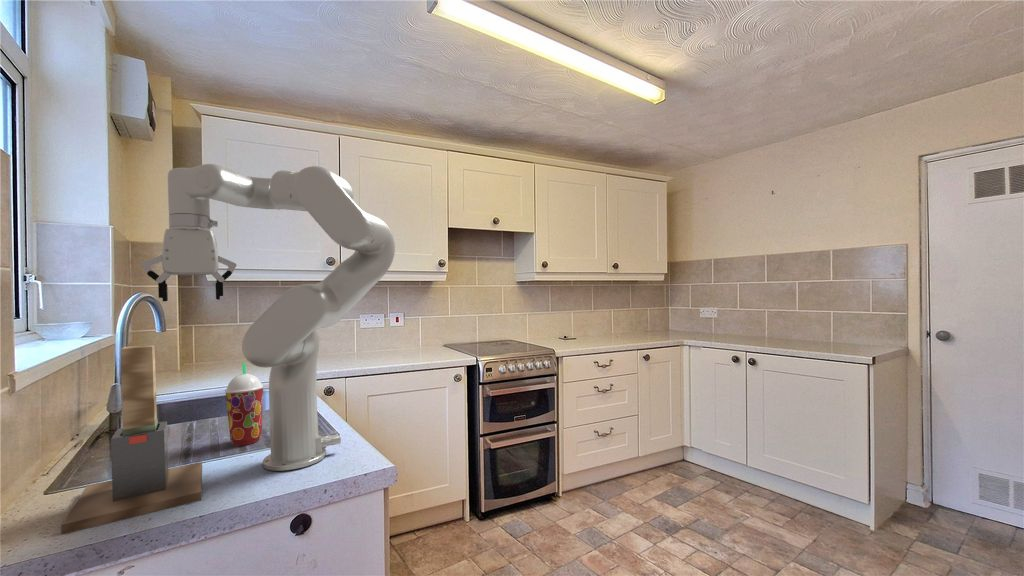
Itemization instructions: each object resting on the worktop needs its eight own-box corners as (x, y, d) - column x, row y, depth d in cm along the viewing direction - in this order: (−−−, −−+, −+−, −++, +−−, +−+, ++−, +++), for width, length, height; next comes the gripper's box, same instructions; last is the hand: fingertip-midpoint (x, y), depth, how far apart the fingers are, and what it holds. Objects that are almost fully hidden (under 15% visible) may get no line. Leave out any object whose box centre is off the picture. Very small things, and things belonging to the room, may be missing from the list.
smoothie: (257, 434, 117) (255, 359, 117) (270, 440, 111) (268, 361, 112) (221, 443, 110) (219, 364, 110) (233, 450, 105) (231, 367, 105)
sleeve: (168, 476, 87) (167, 421, 87) (165, 490, 80) (163, 430, 80) (119, 487, 83) (117, 428, 83) (112, 502, 76) (110, 439, 76)
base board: (202, 468, 94) (201, 461, 94) (201, 500, 79) (200, 491, 79) (87, 493, 84) (87, 485, 84) (61, 534, 69) (61, 524, 69)
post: (158, 437, 85) (155, 344, 85) (155, 443, 81) (152, 346, 81) (126, 442, 82) (123, 346, 82) (122, 449, 79) (119, 349, 79)
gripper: (234, 229, 107) (236, 299, 107) (142, 224, 97) (144, 302, 97) (236, 224, 101) (238, 298, 101) (137, 219, 91) (140, 302, 91)
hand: (192, 300), depth 99 cm, fingers open, 9 cm apart
